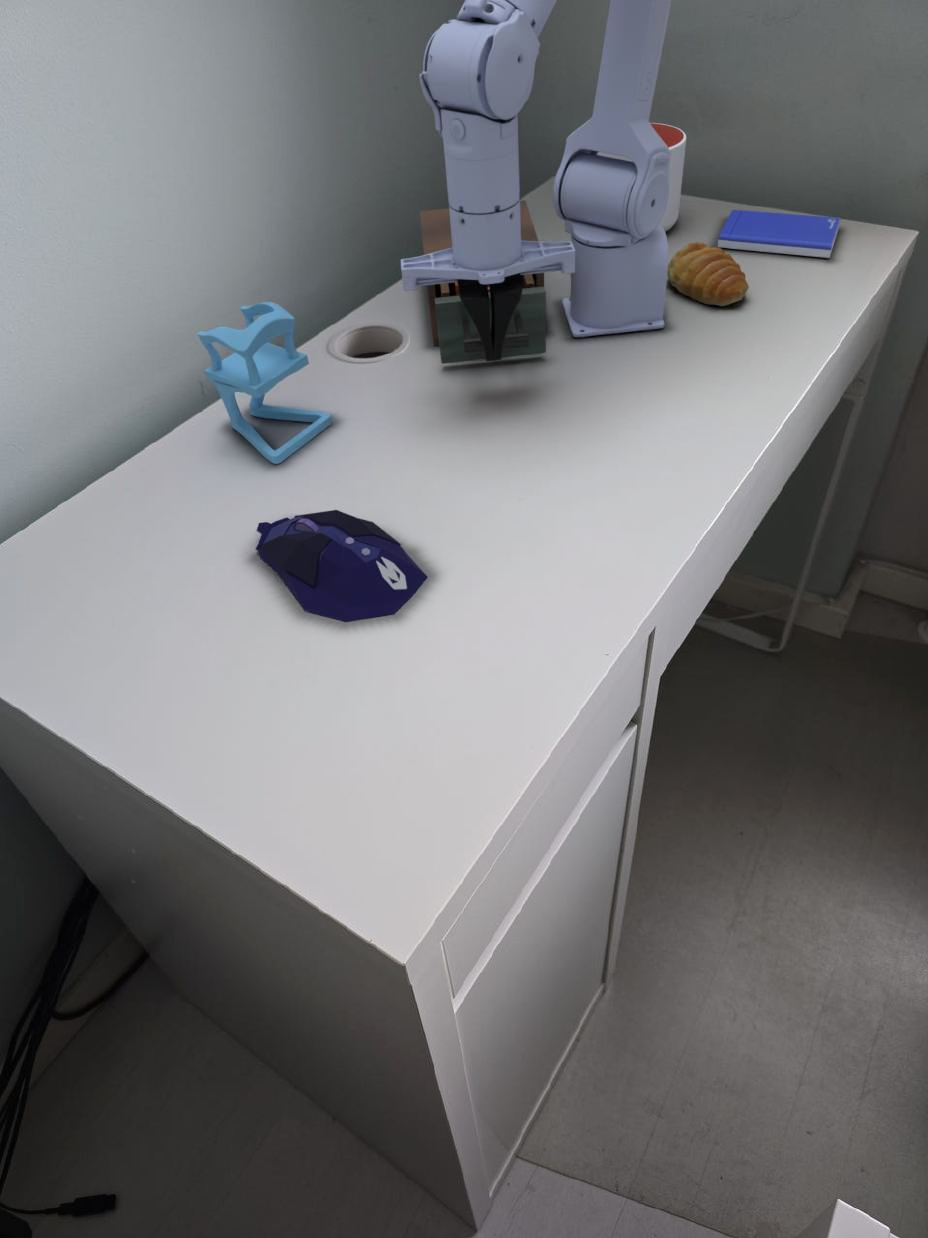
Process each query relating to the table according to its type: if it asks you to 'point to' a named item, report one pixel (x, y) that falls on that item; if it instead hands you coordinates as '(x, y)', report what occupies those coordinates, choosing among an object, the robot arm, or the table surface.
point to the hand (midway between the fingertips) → (492, 354)
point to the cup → (677, 147)
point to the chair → (260, 374)
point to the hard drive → (779, 233)
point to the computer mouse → (339, 565)
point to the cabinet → (439, 238)
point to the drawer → (463, 336)
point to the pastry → (707, 275)
